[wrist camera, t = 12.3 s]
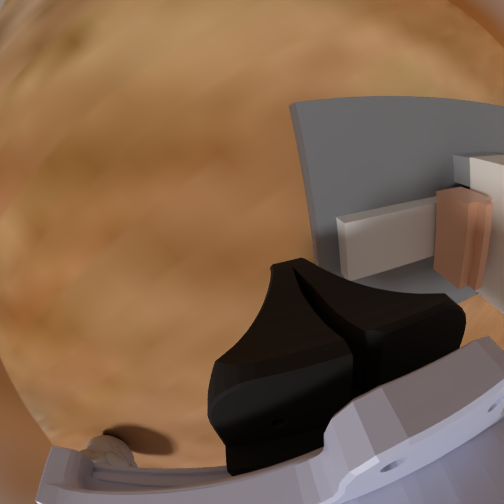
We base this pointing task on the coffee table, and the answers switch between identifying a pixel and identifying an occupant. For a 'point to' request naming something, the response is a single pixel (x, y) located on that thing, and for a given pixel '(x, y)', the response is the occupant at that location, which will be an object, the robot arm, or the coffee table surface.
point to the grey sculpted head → (109, 451)
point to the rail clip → (462, 236)
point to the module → (500, 190)
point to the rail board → (386, 182)
